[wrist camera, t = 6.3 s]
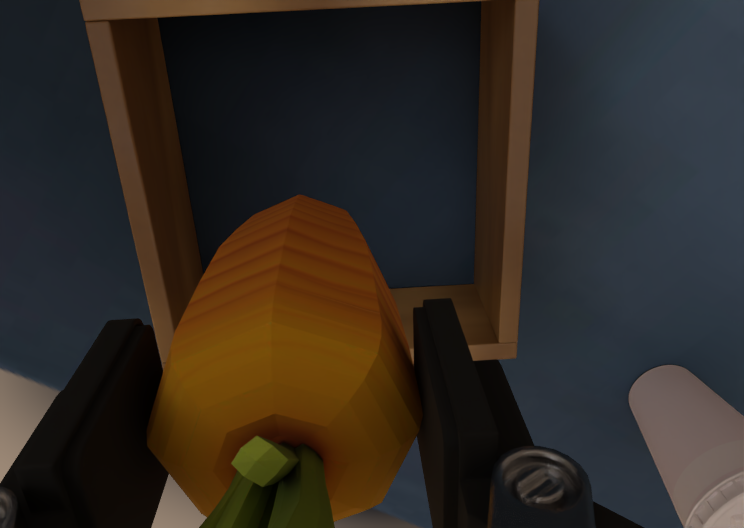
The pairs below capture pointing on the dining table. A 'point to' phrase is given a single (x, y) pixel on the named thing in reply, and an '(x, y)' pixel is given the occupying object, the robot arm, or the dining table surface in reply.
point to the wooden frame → (169, 185)
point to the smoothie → (693, 445)
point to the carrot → (287, 377)
